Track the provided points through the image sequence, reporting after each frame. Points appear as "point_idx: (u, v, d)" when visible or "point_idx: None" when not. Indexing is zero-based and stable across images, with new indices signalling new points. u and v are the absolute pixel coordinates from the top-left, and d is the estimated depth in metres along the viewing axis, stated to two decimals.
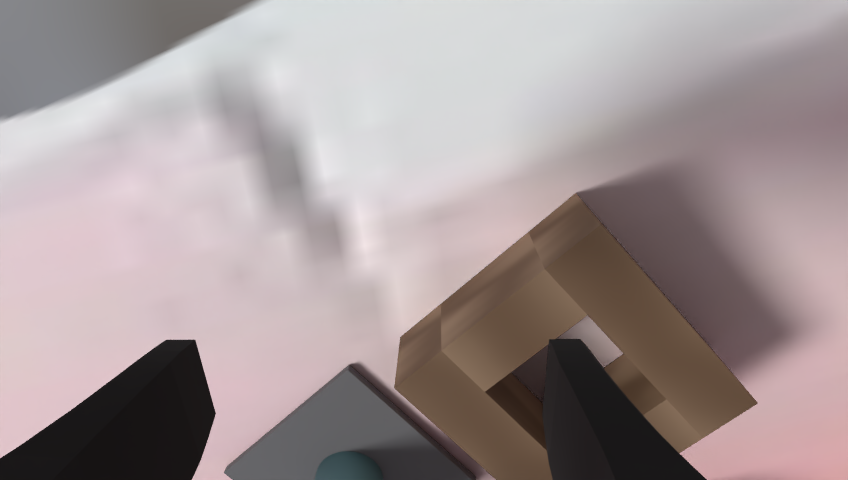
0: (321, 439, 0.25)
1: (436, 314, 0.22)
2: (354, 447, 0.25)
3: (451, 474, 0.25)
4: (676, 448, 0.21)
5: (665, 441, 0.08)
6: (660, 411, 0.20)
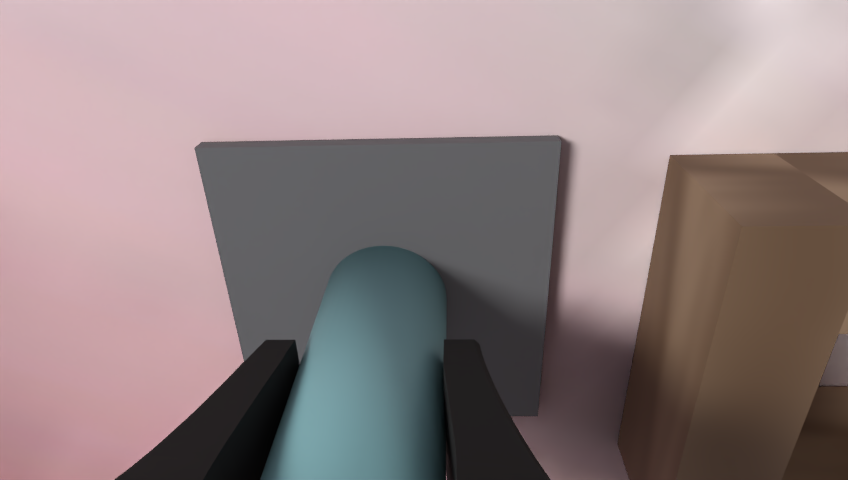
0: (406, 214, 0.13)
1: (778, 163, 0.12)
2: (440, 261, 0.14)
3: (522, 384, 0.15)
4: None
5: (520, 440, 0.08)
6: None
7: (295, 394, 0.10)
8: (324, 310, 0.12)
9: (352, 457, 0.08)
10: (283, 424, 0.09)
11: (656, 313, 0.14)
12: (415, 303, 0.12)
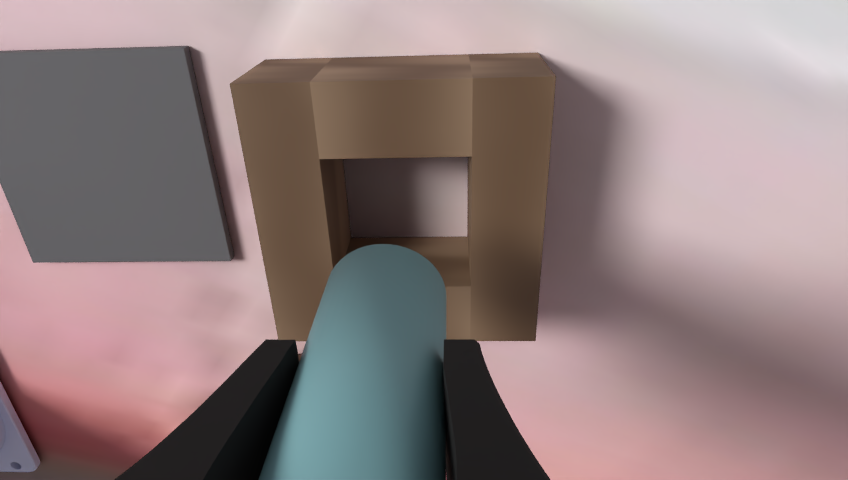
0: (97, 101, 0.19)
1: (321, 61, 0.18)
2: (129, 137, 0.20)
3: (212, 235, 0.22)
4: None
5: (520, 440, 0.08)
6: (457, 293, 0.19)
7: (294, 392, 0.10)
8: (323, 308, 0.12)
9: (351, 456, 0.08)
10: (282, 422, 0.09)
11: None
12: (414, 301, 0.12)
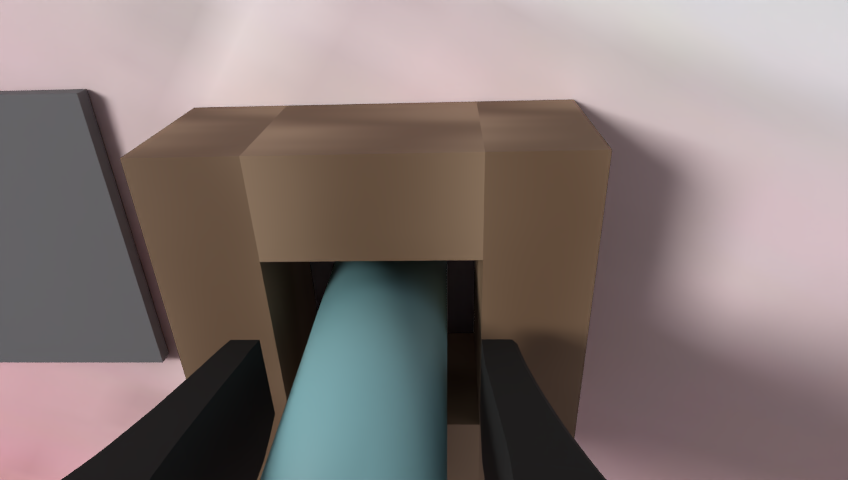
0: None
1: (270, 113, 0.13)
2: (14, 210, 0.15)
3: (137, 331, 0.16)
4: None
5: (572, 440, 0.08)
6: (460, 432, 0.14)
7: (314, 337, 0.11)
8: (337, 270, 0.13)
9: (366, 380, 0.09)
10: (304, 360, 0.11)
11: None
12: (419, 263, 0.13)
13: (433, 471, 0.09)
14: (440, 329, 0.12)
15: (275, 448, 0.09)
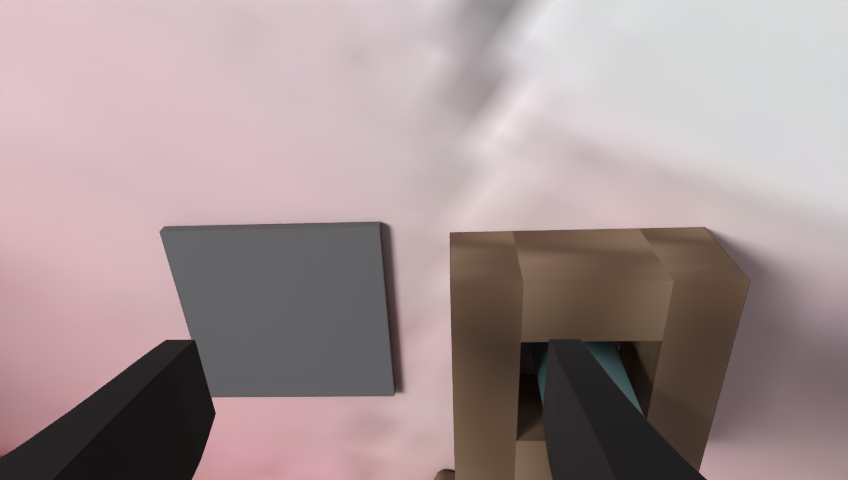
0: (292, 269, 0.21)
1: (507, 239, 0.20)
2: (316, 297, 0.22)
3: (381, 375, 0.23)
4: None
5: (665, 441, 0.08)
6: None
7: None
8: None
9: None
10: None
11: None
12: None
13: None
14: (629, 382, 0.19)
15: None
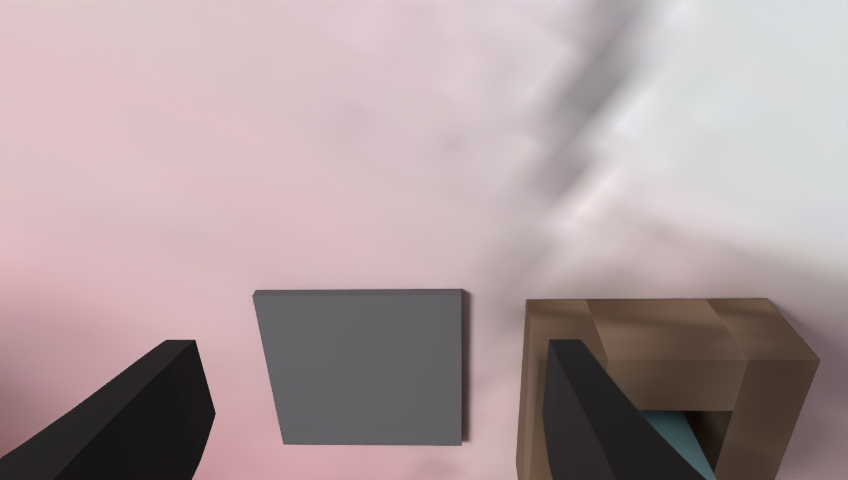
0: (375, 331, 0.22)
1: (583, 308, 0.21)
2: (396, 356, 0.23)
3: (450, 426, 0.25)
4: None
5: (665, 441, 0.08)
6: None
7: None
8: None
9: None
10: None
11: (524, 387, 0.23)
12: None
13: None
14: (700, 447, 0.20)
15: None
